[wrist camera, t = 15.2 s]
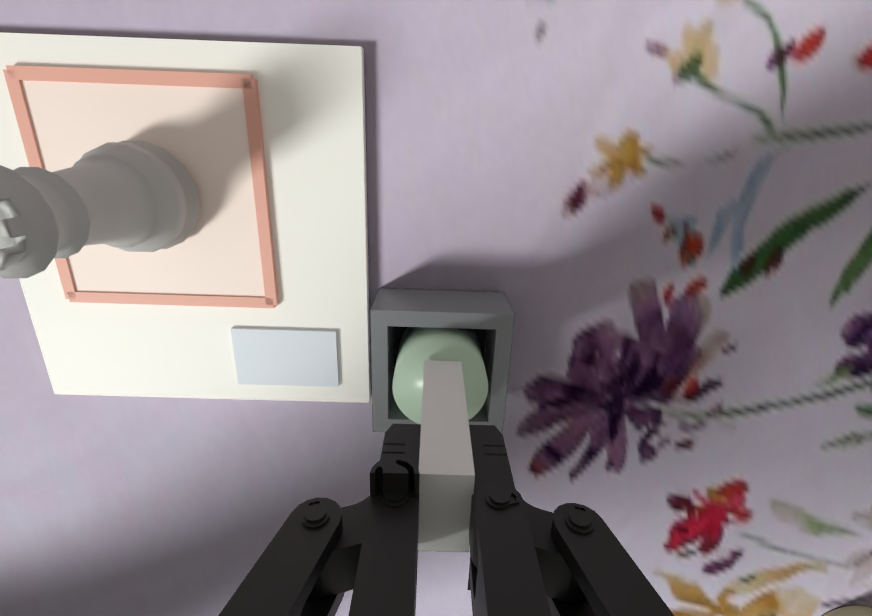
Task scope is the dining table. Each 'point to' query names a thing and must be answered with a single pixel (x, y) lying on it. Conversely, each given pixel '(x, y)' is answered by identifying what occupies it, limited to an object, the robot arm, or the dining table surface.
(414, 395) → the button
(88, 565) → the dining table surface
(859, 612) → the mug
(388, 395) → the button housing
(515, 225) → the dining table surface
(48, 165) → the cream square board
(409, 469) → the robot arm
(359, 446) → the dining table surface
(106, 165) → the rook chess piece
